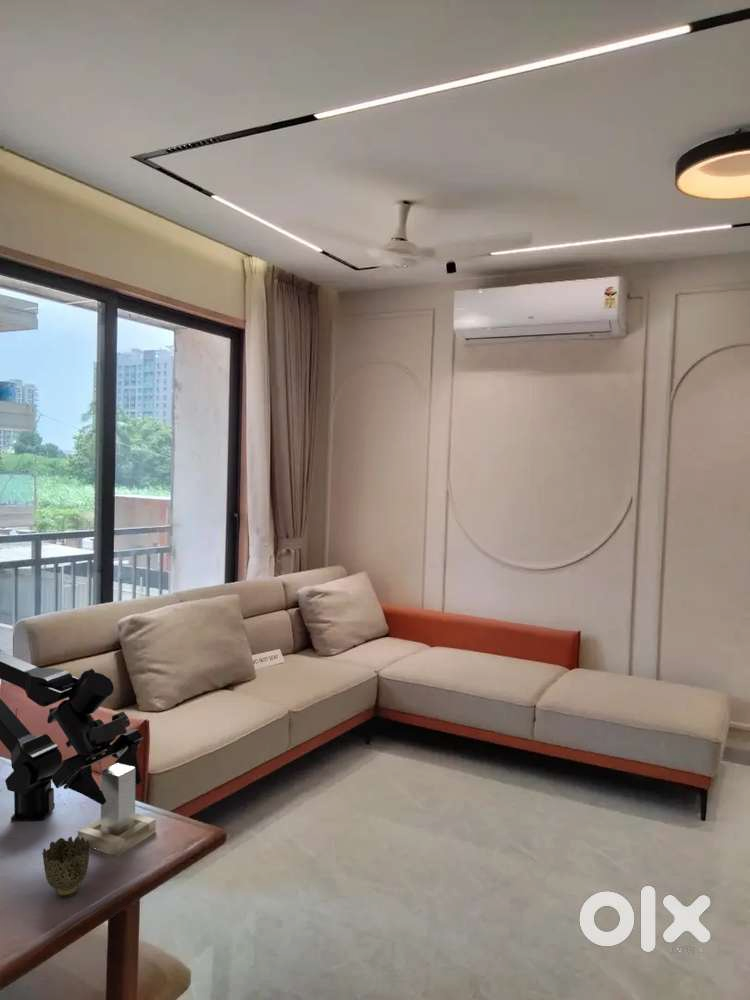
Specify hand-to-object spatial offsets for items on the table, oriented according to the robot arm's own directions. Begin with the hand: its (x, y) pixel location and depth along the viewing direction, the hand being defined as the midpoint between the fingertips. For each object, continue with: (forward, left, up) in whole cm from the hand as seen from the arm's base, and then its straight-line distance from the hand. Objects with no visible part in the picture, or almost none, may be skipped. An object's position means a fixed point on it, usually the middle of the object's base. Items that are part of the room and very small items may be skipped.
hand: (122, 793), depth 140 cm
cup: (-4, -17, -9) cm, 20 cm away
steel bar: (-1, +1, -8) cm, 9 cm away
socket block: (-1, +1, -10) cm, 10 cm away
